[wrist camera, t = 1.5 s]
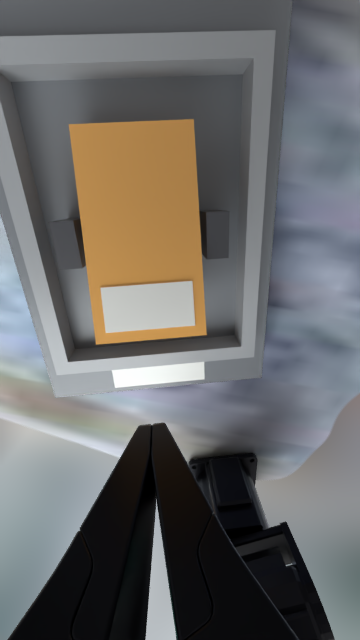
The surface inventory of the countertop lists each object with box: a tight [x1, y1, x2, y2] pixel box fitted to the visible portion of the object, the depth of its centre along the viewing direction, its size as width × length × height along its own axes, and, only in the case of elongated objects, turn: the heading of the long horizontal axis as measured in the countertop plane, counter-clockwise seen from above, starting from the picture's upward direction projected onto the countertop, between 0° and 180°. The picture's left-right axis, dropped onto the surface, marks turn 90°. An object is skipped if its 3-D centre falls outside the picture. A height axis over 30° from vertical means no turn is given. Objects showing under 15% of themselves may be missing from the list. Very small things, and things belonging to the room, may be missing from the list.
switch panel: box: [0, 0, 293, 398], centre depth 14 cm, size 20×14×6 cm
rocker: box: [69, 119, 207, 345], centre depth 12 cm, size 9×5×2 cm, turn 3°
